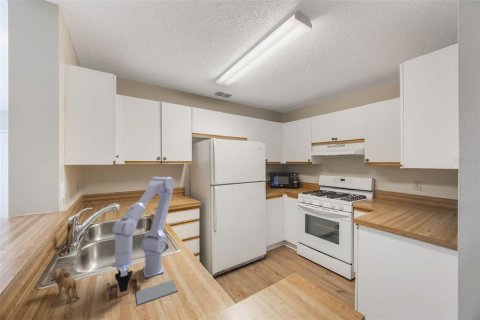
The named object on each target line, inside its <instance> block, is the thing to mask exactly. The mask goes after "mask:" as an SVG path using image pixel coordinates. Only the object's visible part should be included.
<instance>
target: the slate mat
mask: <svg viewBox="0 0 480 320" xmlns="http://www.w3.org/2000/svg"><path fill="white" fill-rule="evenodd" d="M177 292H178V288H177V286H176V283H175V281H174V280H173V279H170V280H168V281H165V282H161V283H159V284H155V285H151V286H149V287H146V288H143V289H140V290H139V291H137V290H136V291H135V298H136V306H141V305H143V304H146V303H149V302H152V301H155V300H157V299H161V298H164V297H166V296H168V295H169V296H170V295H171V294H175V293H177Z"/></svg>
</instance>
